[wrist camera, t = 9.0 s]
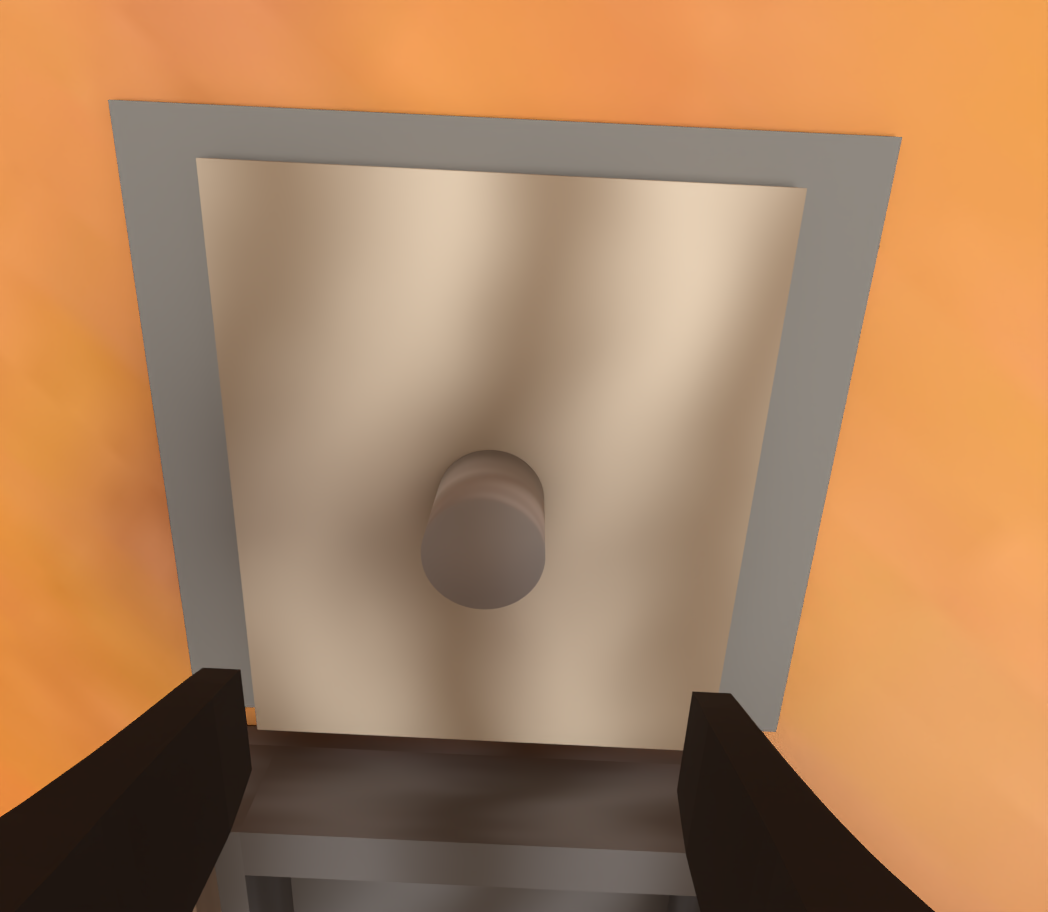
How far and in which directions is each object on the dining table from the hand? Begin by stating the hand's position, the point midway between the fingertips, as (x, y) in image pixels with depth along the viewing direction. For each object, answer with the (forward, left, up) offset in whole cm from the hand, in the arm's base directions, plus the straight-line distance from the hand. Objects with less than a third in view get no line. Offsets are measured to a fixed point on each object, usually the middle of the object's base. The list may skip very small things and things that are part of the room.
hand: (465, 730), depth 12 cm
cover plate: (0, 0, -9) cm, 9 cm away
